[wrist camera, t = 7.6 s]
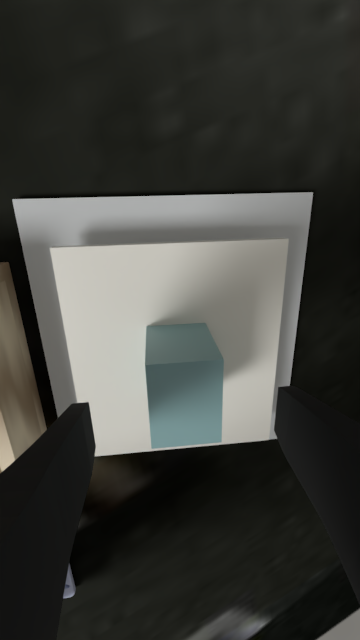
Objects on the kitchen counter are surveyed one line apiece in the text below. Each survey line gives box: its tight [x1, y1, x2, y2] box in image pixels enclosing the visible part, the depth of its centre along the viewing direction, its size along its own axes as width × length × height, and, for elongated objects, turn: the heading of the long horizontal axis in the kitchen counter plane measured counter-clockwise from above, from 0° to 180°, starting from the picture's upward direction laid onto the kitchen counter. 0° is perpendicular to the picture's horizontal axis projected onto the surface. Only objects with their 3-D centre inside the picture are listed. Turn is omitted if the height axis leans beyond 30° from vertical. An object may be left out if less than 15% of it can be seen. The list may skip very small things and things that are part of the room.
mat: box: [12, 192, 313, 439], centre depth 17 cm, size 16×15×1 cm
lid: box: [50, 238, 289, 456], centre depth 15 cm, size 12×11×6 cm
